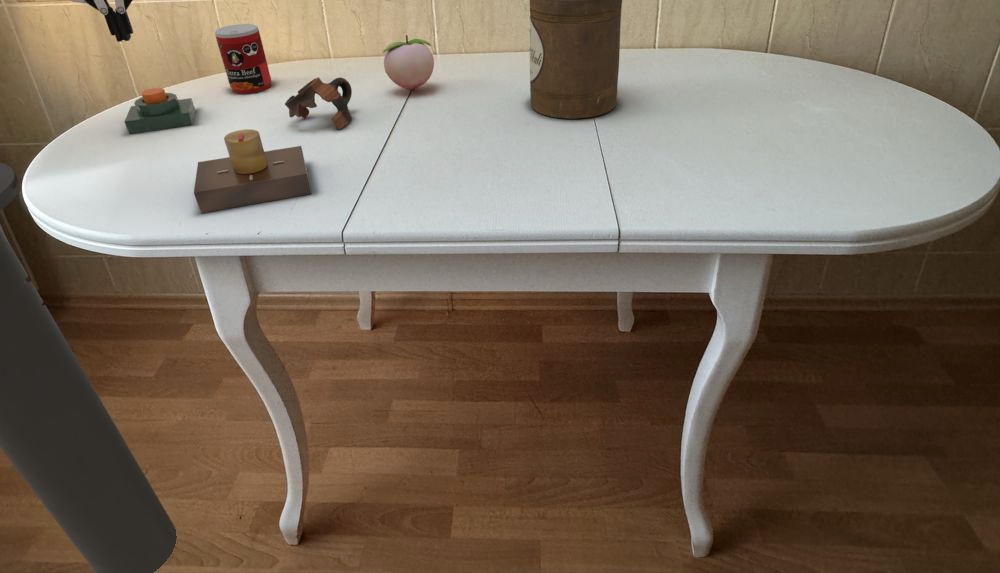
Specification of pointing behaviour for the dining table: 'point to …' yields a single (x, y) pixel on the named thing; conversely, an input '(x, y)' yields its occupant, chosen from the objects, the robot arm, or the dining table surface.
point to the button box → (160, 114)
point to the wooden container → (574, 56)
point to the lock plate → (251, 181)
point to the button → (154, 95)
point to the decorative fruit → (409, 63)
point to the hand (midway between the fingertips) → (124, 39)
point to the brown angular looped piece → (326, 93)
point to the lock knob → (246, 151)
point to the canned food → (243, 58)
